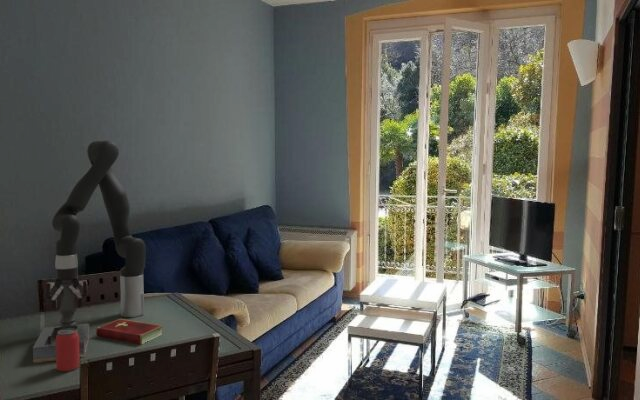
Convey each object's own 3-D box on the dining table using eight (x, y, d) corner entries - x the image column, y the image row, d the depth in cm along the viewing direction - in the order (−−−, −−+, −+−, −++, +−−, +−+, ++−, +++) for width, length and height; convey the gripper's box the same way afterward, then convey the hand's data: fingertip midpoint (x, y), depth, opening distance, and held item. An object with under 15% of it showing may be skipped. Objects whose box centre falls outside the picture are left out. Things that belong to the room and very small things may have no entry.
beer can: (61, 364, 160) (60, 327, 159) (82, 363, 160) (82, 327, 160) (52, 372, 153) (51, 334, 152) (74, 372, 154) (73, 334, 153)
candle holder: (69, 335, 186) (68, 269, 185) (55, 333, 188) (53, 268, 186) (80, 329, 192) (79, 266, 191) (66, 328, 194) (65, 265, 192)
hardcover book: (141, 346, 177) (140, 334, 177) (96, 338, 185) (96, 327, 185) (163, 335, 189) (163, 324, 188) (120, 328, 196) (119, 317, 196)
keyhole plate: (89, 336, 185) (89, 323, 185) (84, 357, 166) (84, 342, 165) (44, 340, 180) (43, 327, 180) (33, 362, 161) (32, 347, 160)
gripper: (88, 263, 194) (88, 304, 195) (47, 265, 189) (48, 307, 190) (86, 267, 187) (87, 309, 188) (43, 269, 182) (44, 312, 183)
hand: (67, 308), depth 189 cm, fingers open, 7 cm apart
